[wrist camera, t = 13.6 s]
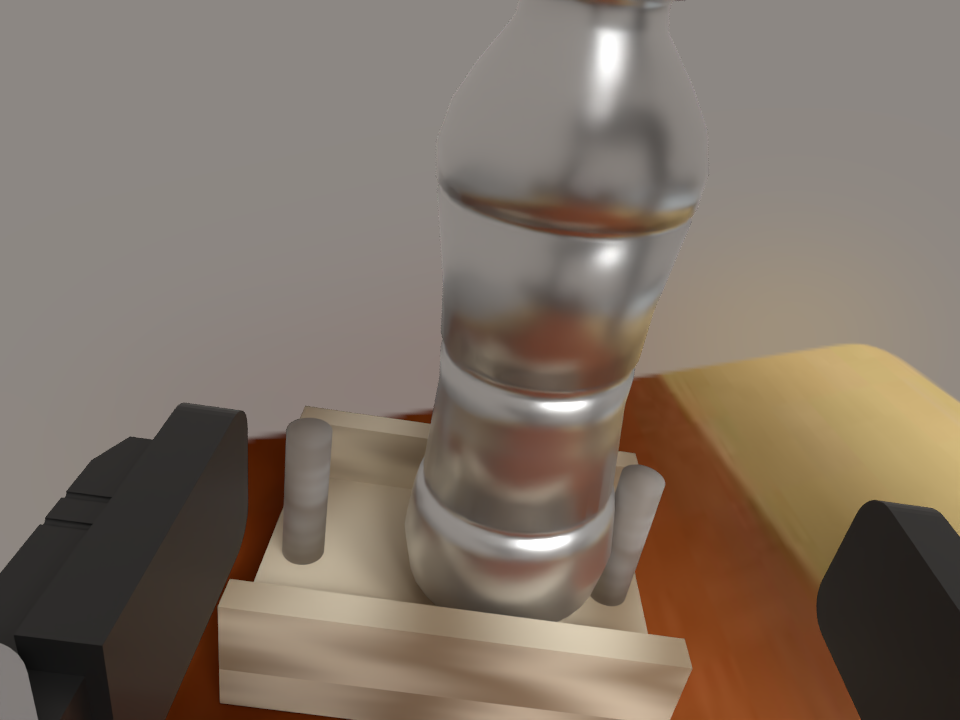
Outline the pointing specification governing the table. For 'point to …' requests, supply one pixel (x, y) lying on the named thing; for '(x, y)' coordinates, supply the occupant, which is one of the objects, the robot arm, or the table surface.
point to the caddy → (425, 605)
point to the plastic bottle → (548, 296)
